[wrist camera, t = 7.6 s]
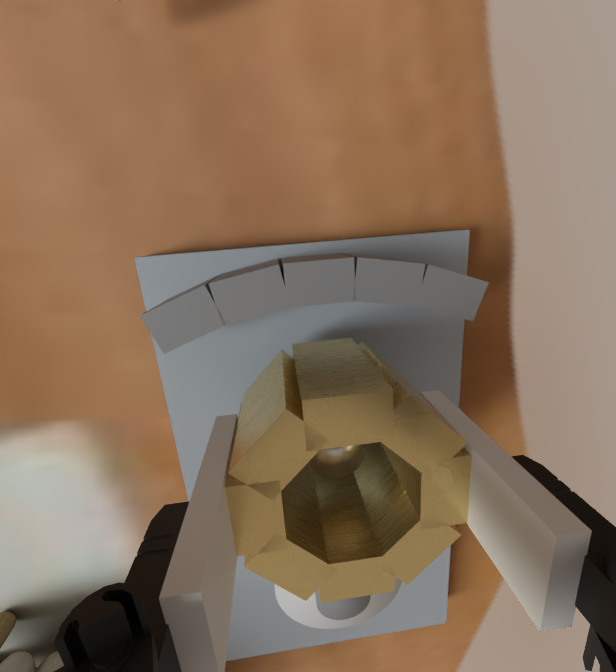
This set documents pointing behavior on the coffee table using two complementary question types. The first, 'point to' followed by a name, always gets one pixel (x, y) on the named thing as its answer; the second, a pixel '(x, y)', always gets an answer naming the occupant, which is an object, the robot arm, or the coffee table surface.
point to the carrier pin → (338, 460)
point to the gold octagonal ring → (346, 492)
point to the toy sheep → (21, 665)
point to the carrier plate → (280, 333)
